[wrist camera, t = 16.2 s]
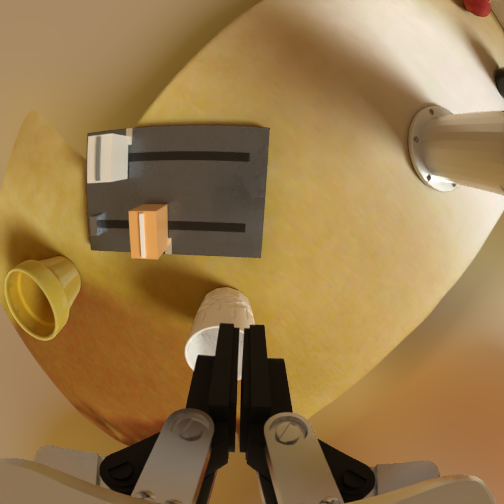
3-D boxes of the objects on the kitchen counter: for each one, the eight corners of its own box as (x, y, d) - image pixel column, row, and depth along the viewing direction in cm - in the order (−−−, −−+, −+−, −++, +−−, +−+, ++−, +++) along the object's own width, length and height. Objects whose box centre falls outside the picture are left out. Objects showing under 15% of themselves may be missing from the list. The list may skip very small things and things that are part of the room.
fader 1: (128, 136, 27) (111, 133, 22) (127, 178, 28) (109, 182, 24) (106, 138, 27) (86, 136, 22) (105, 179, 28) (85, 183, 24)
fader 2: (167, 204, 30) (155, 211, 25) (168, 246, 31) (156, 260, 27) (143, 204, 29) (127, 211, 25) (144, 245, 31) (130, 259, 26)
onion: (451, -7, 19) (474, -20, 11) (469, 2, 19) (492, -8, 11) (461, 15, 21) (487, 4, 13) (479, 24, 21) (503, 15, 13)
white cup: (185, 308, 36) (169, 355, 26) (224, 270, 34) (219, 311, 25) (227, 341, 38) (225, 391, 28) (267, 308, 36) (276, 355, 27)
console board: (268, 129, 29) (270, 126, 26) (259, 253, 34) (261, 261, 31) (93, 134, 28) (82, 132, 25) (96, 246, 32) (86, 253, 30)
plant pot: (40, 291, 34) (6, 320, 25) (42, 234, 31) (1, 255, 22) (88, 316, 36) (59, 353, 27) (95, 258, 33) (57, 288, 24)
